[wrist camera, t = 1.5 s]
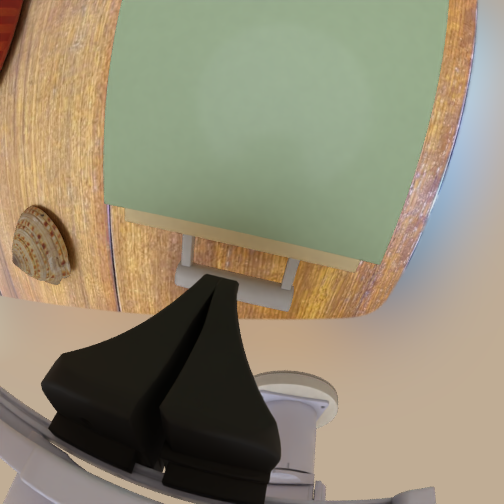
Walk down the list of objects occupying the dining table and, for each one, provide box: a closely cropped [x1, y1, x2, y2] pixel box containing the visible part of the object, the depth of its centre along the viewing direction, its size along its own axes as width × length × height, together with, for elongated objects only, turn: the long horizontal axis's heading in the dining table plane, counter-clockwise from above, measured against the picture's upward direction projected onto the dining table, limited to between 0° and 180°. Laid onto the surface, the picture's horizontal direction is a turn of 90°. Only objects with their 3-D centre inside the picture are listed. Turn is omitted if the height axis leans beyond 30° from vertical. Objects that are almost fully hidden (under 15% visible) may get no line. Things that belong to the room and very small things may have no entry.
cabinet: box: [103, 0, 449, 265], centre depth 12 cm, size 14×13×9 cm
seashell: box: [12, 206, 71, 285], centre depth 25 cm, size 8×6×8 cm
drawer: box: [125, 208, 360, 312], centre depth 14 cm, size 18×11×7 cm, turn 170°
